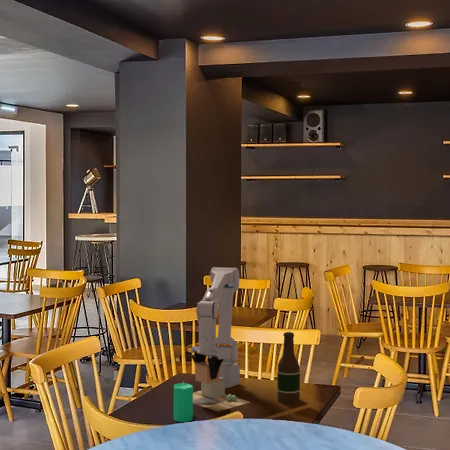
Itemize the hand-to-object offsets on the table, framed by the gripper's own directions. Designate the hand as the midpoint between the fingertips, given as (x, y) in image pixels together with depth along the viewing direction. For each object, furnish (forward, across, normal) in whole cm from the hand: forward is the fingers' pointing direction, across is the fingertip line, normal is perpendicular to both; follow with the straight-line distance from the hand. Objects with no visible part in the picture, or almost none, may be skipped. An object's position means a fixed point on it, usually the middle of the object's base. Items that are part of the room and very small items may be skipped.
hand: (207, 377), depth 230 cm
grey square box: (+8, -5, +7) cm, 12 cm away
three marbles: (+8, +4, +7) cm, 12 cm away
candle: (+10, +6, -16) cm, 19 cm away
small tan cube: (+1, 0, 0) cm, 1 cm away
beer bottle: (+10, +17, +21) cm, 29 cm away
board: (+9, -1, +3) cm, 10 cm away
